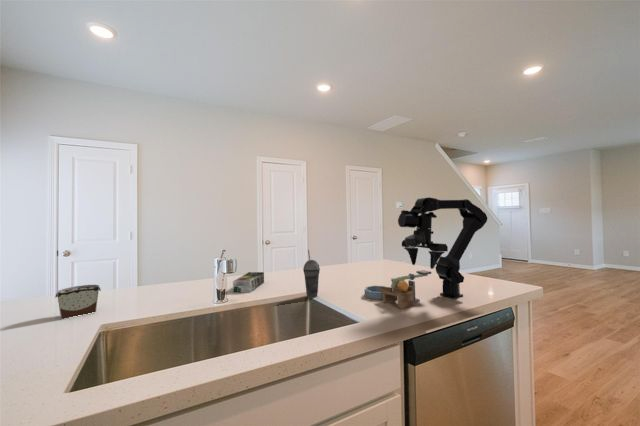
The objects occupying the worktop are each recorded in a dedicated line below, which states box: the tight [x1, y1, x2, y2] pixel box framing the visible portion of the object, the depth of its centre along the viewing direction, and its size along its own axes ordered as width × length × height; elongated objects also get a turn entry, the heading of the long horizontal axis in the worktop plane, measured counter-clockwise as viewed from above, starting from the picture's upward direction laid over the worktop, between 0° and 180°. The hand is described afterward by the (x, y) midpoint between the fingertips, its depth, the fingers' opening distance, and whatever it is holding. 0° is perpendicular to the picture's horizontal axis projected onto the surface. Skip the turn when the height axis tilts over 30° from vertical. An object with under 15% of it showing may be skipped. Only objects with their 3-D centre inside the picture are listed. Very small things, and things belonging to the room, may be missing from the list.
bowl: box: [364, 285, 386, 301], centre depth 112 cm, size 11×11×3 cm
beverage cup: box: [302, 249, 321, 299], centre depth 114 cm, size 7×7×20 cm
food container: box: [54, 284, 101, 320], centre depth 98 cm, size 12×6×10 cm, turn 135°
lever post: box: [407, 279, 421, 304], centre depth 104 cm, size 4×4×8 cm
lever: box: [390, 269, 432, 291], centre depth 104 cm, size 19×4×6 cm, turn 117°
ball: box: [397, 280, 409, 292], centre depth 99 cm, size 4×4×4 cm
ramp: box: [380, 284, 415, 309], centre depth 102 cm, size 7×11×7 cm, turn 27°
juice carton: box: [232, 271, 265, 293], centre depth 132 cm, size 20×10×6 cm, turn 174°
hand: (422, 266), depth 107 cm, fingers open, 9 cm apart
